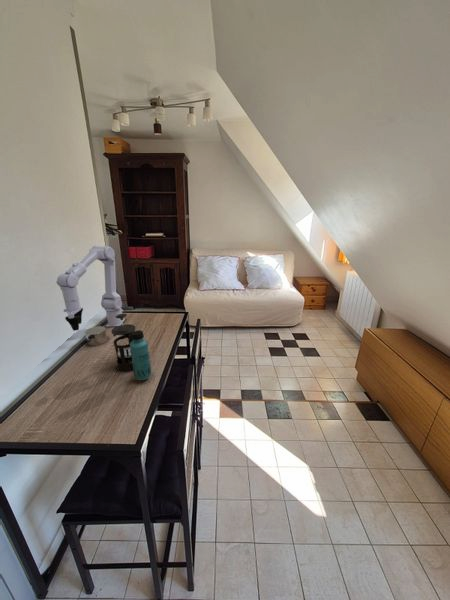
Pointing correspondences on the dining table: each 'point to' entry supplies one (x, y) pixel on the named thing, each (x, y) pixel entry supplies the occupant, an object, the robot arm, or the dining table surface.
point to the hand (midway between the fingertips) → (77, 326)
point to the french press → (124, 350)
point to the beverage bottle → (140, 356)
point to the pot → (96, 335)
